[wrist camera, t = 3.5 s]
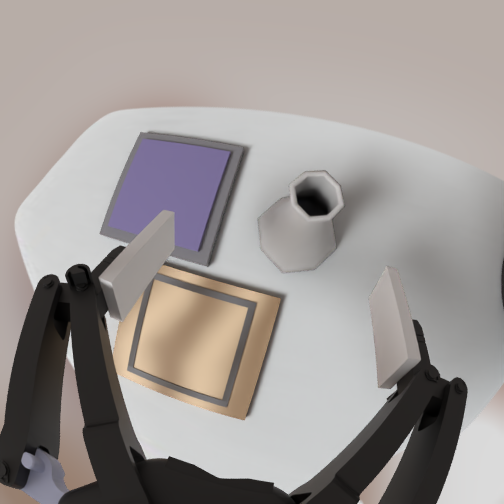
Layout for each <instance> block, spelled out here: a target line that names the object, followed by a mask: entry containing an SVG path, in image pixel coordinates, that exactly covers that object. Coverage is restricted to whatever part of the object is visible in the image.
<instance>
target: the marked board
mask: <svg viewBox="0 0 504 504" xmlns="http://www.w3.org/2000/svg"><path fill="white" fill-rule="evenodd" d="M280 300H281V298H277V297H273V296H269V295H266V294H262V293H258V292H255V291H251V290H247V289H244V288H240V287H236V286H233V285H229V284H226V283H222V282H219V281H215V280H212V279H208V278H205V277H201V276H198V275H195V274H191V273H188V272H185V271H181V270H178V269H175V268H172V267H168V266H165V265H162V267H161V268H160V269H159V271H158V272H157V273H156V275H155V276H154V278H153V279H152V280H151V282H150V283H149V285H148V286H147V287H146V289H145V290H144V292H143V293H142V294H141V296H140V297H139V299H138V300H137V302H136V303H135V305H134V306H133V308H132V309H131V310H130V312H129V313H128V315H127V316H126V318H125V319H124V321H123V322H121V321H120V322H119V326H118V331H117V336H116V341H115V347H114V352H113V360H114V364H115V368H116V372H117V374H119V375H121V376H123V377H125V378H127V379H129V380H131V381H134V382H136V383H138V384H140V385H143V386H145V387H147V388H149V389H152V390H154V391H157V392H159V393H162V394H164V395H167V396H169V397H172V398H175V399H177V400H180V401H183V402H185V403H188V404H191V405H194V406H197V407H200V408H203V409H206V410H209V411H213V412H216V413H219V414H223V415H226V416H230V417H233V418H237V419H241V420H245V417H246V414H247V411H248V408H249V405H250V402H251V399H252V396H253V392H254V389H255V386H256V383H257V380H258V376H259V373H260V370H261V367H262V363H263V360H264V357H265V353H266V350H267V346H268V343H269V340H270V336H271V333H272V329H273V326H274V322H275V319H276V315H277V311H278V308H279V304H280Z"/></svg>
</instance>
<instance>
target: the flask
mask: <svg viewBox="0 0 504 504" xmlns="http://www.w3.org/2000/svg"><path fill="white" fill-rule="evenodd" d="M289 192H290V197H285V198H281V199H279V200H278V201H277V202H276V203H275V204H274V205H273V206H271V207H270V208H269V209H268V210H267V211H266V212H265V213H263V214H262V215H261V216H260V217H259V218H258V226H259V237H260V247H261V250H262V251H263V252H264V253H265V255H266V256H267V257H268V258H269V259H270V260H271V261H272V262H273V263H274V264H275V265H276V267H277V268H278V269H279V270H280V271H281V272H282V273H290V272H300V271H309V270H315V269H316V268H317V267H318V266H319V265H320V264H321V263H322V262H323V261H324V260H325V259H326V258H327V257H328V256H329V255H330V254H331V253H332V252H333V251H334V250H335V249H336V241H335V235H334V228H333V222H332V218H333V217H334V216H335V215H337V214H338V213H339V212H340V211H341V210H342V209H343V208H344V206H345V204H344V199H343V194H342V189H341V185H340V184H339V183H338V182H337V181H336V180H335V179H334V178H333V177H332V176H331V175H330V174H329V173H328V172H327V171H305V172H303V173H302V174H301V175H300V176H299V177H297V178H296V179H295V180H294V181H293V182H292V183H290V184H289Z"/></svg>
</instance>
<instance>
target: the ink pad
mask: <svg viewBox="0 0 504 504" xmlns="http://www.w3.org/2000/svg"><path fill="white" fill-rule="evenodd" d="M243 153H244V147H240V146H235V145H229V144H224V143H218V142H212V141H206V140H200V139H193V138H186V137H178V136H170V135H162V134H152V133H142V132H140V135H139V137H138V139H137V141H136V143H135V145H134V147H133V149H132V151H131V153H130V156H129V158H128V160H127V162H126V165H125V167H124V169H123V172H122V174H121V176H120V179H119V181H118V184H117V186H116V189H115V191H114V194H113V197H112V199H111V202H110V205H109V207H108V210H107V213H106V216H105V219H104V222H103V225H102V228H101V231H100V234H101V235H103V236H107V237H110V238H113V239H116V240H119V241H123V242H126V243H129V244H130V243H131V242H132V241H133V240H134V238H135V237H136V236H137V235H138V234H139V233H140V232H141V231H142V230H143V229H144V228H145V227H146V226H147V225H148V224H149V223H150V222H151V221H152V220H153V219H154V218H155V217H156V216H157V215H158V214H159V213H160V212H162V211H163V210H167V211H172V212H174V240H175V249H174V250H173V252H172V253H171V254H170V256H172V257H176V258H179V259H182V260H186V261H189V262H193V263H196V264H200V265H203V266H207V267H208V265H209V261H210V258H211V254H212V251H213V248H214V244H215V241H216V238H217V234H218V231H219V228H220V224H221V221H222V218H223V215H224V211H225V208H226V205H227V202H228V199H229V196H230V192H231V189H232V186H233V183H234V180H235V177H236V174H237V171H238V168H239V165H240V162H241V159H242V156H243Z"/></svg>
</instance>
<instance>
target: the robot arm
mask: <svg viewBox="0 0 504 504" xmlns="http://www.w3.org/2000/svg"><path fill="white" fill-rule="evenodd" d="M174 249H175V240H174V212H172V211H167V210H163V211H162V212H160V213H159V214H158V215H157V216H156V217H155V218H154V219H153V220H152V221H151V222H150V223H149V224H148V225H147V226H146V227H145V228H144V229H143V230H142V231H141V232H140V233H139V234H138V235H137V236H136V237H135V238H134V240H133V241H132V242H131V243H130V244H129V245H128V246H127V247H124V246H119V247H117V248H115V249H113V250H112V251H111V252H110V253H109V254H108V255H107V257H105V258H104V259H103V261H101V263H100V264H99V265H98V266H97V267H96V268H95V269H94V270H93V271H92V272H91V271H90V268H89V267H88V266H87V265H85V264H77V265H74V266H72V267H70V268H69V269H68V270H67V272H66V274H65V277H66V280H67V282H68V283H60V281H59V278H58V277H57V276H56V275H53V274H50V275H46V276H44V277H43V278H42V279H41V280H40V281H39V283H38V285H37V287H36V290H35V293H34V295H33V298H32V301H31V304H30V307H29V309H28V312H27V315H26V319H25V322H24V325H23V328H22V332H21V335H20V339H19V342H18V346H17V350H16V354H15V358H14V363H13V367H12V372H11V378H10V383H9V389H8V395H7V403H6V411H5V422H4V426H3V429H2V431H1V434H0V483H2V484H4V485H6V486H9V487H12V488H15V489H19V490H22V491H24V492H25V493H26V494H28V495H29V496H31V497H32V498H33V499H35V500H36V501H38V502H39V503H41V504H357V503H358V502H359V500H360V498H359V496H360V494H361V493H362V491H363V490H364V489H365V488H366V487H367V486H368V485H369V484H370V483H371V482H372V481H373V479H374V478H375V477H376V476H377V475H378V474H379V472H380V471H381V470H382V469H383V468H384V466H385V465H386V464H387V463H388V461H389V460H390V459H391V458H392V456H393V455H394V454H395V452H396V451H397V450H398V448H399V447H400V446H401V444H402V443H403V442H404V440H405V439H406V437H407V436H408V434H409V433H410V431H411V430H412V428H413V427H414V429H413V432H412V434H411V437H410V439H409V442H408V444H407V447H406V449H405V452H404V454H403V456H402V459H401V461H400V463H399V465H398V467H397V470H396V471H395V473H394V475H393V478H392V479H391V482H390V483H389V485H388V487H387V489H386V491H385V493H384V495H383V496H382V498H381V500H380V502H379V503H378V504H436V503H437V501H438V499H439V496H440V494H441V491H442V489H443V486H444V484H445V481H446V478H447V475H448V472H449V470H450V466H451V463H452V460H453V457H454V453H455V450H456V446H457V443H458V439H459V435H460V430H461V426H462V421H463V416H464V411H465V405H466V399H467V393H468V392H467V386H466V384H465V382H464V381H463V380H462V379H461V378H458V377H457V378H454V379H453V380H452V381H450V382H449V381H447V380H445V379H443V378H440V374H439V372H438V370H437V369H436V368H435V367H434V366H433V365H431V364H430V359H429V355H428V350H427V346H426V343H425V338H424V334H423V330H422V327H421V326H420V324H419V322H418V321H417V320H413V319H412V318H411V314H410V310H409V306H408V303H407V299H406V296H405V292H404V289H403V286H402V283H401V279H400V276H399V273H398V270H397V269H396V268H393V267H389V266H386V268H385V270H384V272H383V273H382V275H381V277H380V279H379V281H378V283H377V284H376V286H375V288H374V290H373V291H372V293H371V295H370V297H369V304H370V311H371V318H372V326H373V334H374V343H375V353H376V365H377V378H378V388H386V389H391V388H392V387H393V386H394V385H395V384H396V383H397V390H396V391H395V392H394V393H393V394H392V395H390V396H389V397H388V398H387V400H388V401H387V402H386V403H385V405H384V406H383V407H382V408H381V409H380V411H379V412H378V413H377V414H376V415H375V417H374V418H373V419H372V420H371V421H370V422H369V423H368V425H367V426H366V427H365V428H364V429H363V430H362V431H361V432H360V433H359V434H358V436H357V437H356V438H355V439H354V440H353V441H352V442H351V443H350V444H349V445H348V446H347V447H346V448H345V449H344V450H343V451H342V452H341V453H340V454H339V455H338V456H337V457H336V458H335V459H334V460H332V461H331V462H330V463H329V464H328V465H327V466H326V467H325V468H324V469H323V470H321V471H320V472H319V473H318V474H317V475H316V476H314V477H313V478H312V479H311V480H310V481H308V482H307V483H305V484H303V485H302V486H300V487H298V488H297V489H296V490H294V491H293V492H291V493H290V494H289V495H288V494H287V493H285V492H284V491H282V490H280V489H279V488H277V487H274V483H271V482H265V481H259V480H253V479H222V478H218V477H215V476H214V475H212V474H210V473H208V472H206V471H204V470H202V469H201V468H199V467H197V466H195V465H193V464H190V463H187V462H184V461H181V460H178V459H175V458H172V457H170V456H169V458H168V459H162V458H157V459H149V460H147V459H146V457H145V455H144V452H143V450H142V447H141V445H140V443H139V442H138V440H137V438H136V435H135V433H134V430H133V427H132V424H131V421H130V418H129V415H128V412H127V409H126V405H125V402H124V399H123V395H122V392H121V388H120V384H119V380H118V376H117V372H116V368H115V364H114V360H113V355H112V350H111V346H110V340H109V335H108V330H107V324H106V318H105V314H106V312H107V311H109V314H110V317H111V318H114V319H116V320H118V321H121V322H123V321H124V319H125V318H126V316H127V315H128V313H129V312H130V310H131V309H132V308H133V306H134V305H135V303H136V302H137V300H138V299H139V297H140V296H141V294H142V293H143V292H144V290H145V289H146V287H147V286H148V285H149V283H150V282H151V280H152V279H153V278H154V276H155V275H156V273H157V272H158V271H159V269H160V268H161V267H162V265H163V264H164V262H165V261H166V260H167V258H168V257H169V256H170V254H171V253H172V252H173V250H174ZM502 299H503V307H504V261H503V269H502ZM70 331H71V338H72V349H73V359H74V367H75V374H76V381H77V387H78V393H79V398H80V404H81V408H82V413H83V417H84V423H85V426H84V428H83V437H84V441H85V445H86V448H87V451H88V455H89V459H90V462H91V465H92V468H93V471H94V474H95V476H96V479H97V481H95V482H93V483H90V484H88V485H85V486H82V487H79V488H77V489H74V490H71V491H69V490H68V489H67V487H66V485H65V483H64V480H63V478H64V476H65V473H64V470H63V469H62V466H61V464H60V463H59V461H58V454H59V445H60V412H61V396H62V385H63V376H64V368H65V360H66V354H67V347H68V342H69V336H70ZM414 425H415V426H414Z"/></svg>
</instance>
